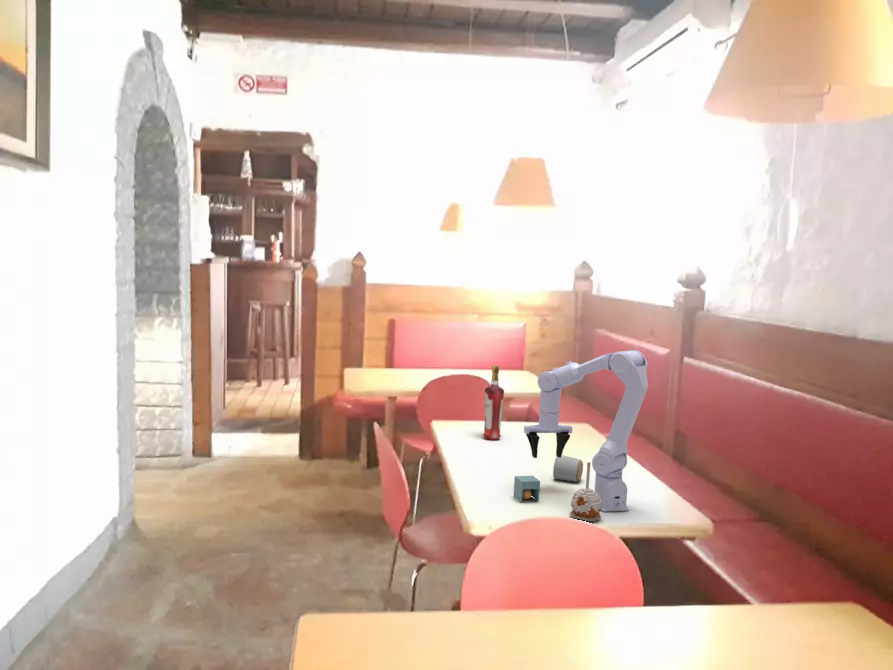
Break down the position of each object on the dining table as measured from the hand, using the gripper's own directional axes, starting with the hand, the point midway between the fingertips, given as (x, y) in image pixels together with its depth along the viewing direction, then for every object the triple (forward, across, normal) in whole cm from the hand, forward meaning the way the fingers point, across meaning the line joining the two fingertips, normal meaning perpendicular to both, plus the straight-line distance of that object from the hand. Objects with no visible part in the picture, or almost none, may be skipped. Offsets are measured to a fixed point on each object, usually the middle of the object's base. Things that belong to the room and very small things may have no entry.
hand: (546, 457), depth 222 cm
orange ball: (+10, +9, +9) cm, 16 cm away
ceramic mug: (+10, -12, -10) cm, 18 cm away
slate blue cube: (+10, +9, +9) cm, 16 cm away
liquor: (+10, -4, -64) cm, 65 cm away
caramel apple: (+10, -1, +26) cm, 28 cm away
